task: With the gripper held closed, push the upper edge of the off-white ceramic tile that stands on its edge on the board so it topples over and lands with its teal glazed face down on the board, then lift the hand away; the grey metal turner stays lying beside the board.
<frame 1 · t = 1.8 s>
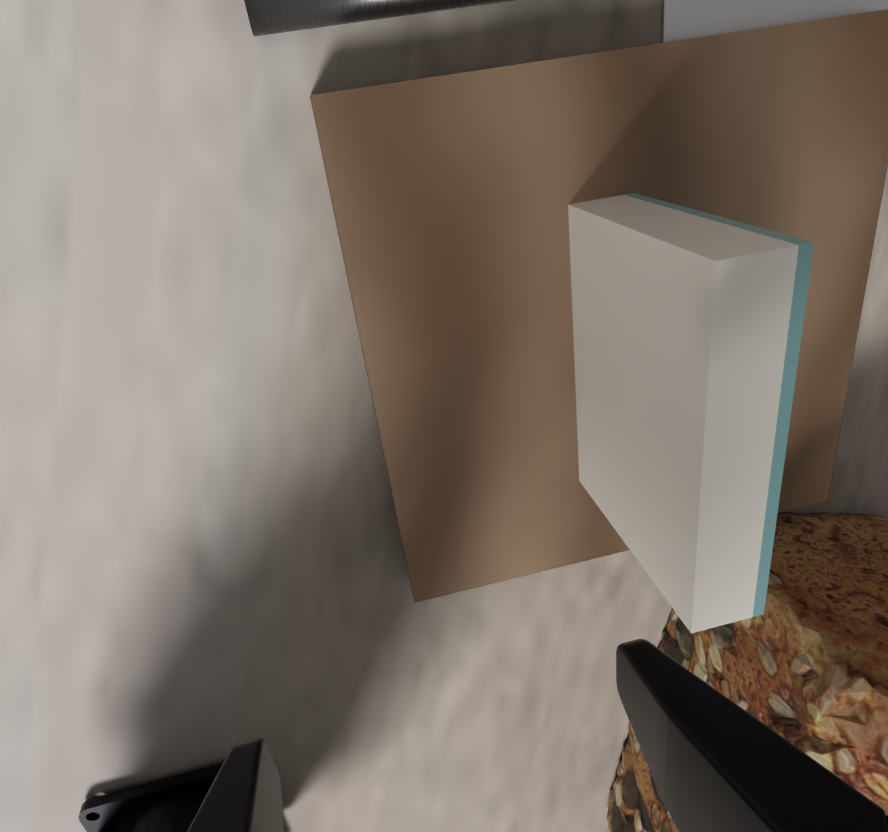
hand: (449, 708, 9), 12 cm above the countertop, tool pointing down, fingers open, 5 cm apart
tile: (599, 352, 19), point 1 cm above the countertop, touching board
board: (613, 333, 21), on the countertop
bread: (730, 667, 30), on the countertop
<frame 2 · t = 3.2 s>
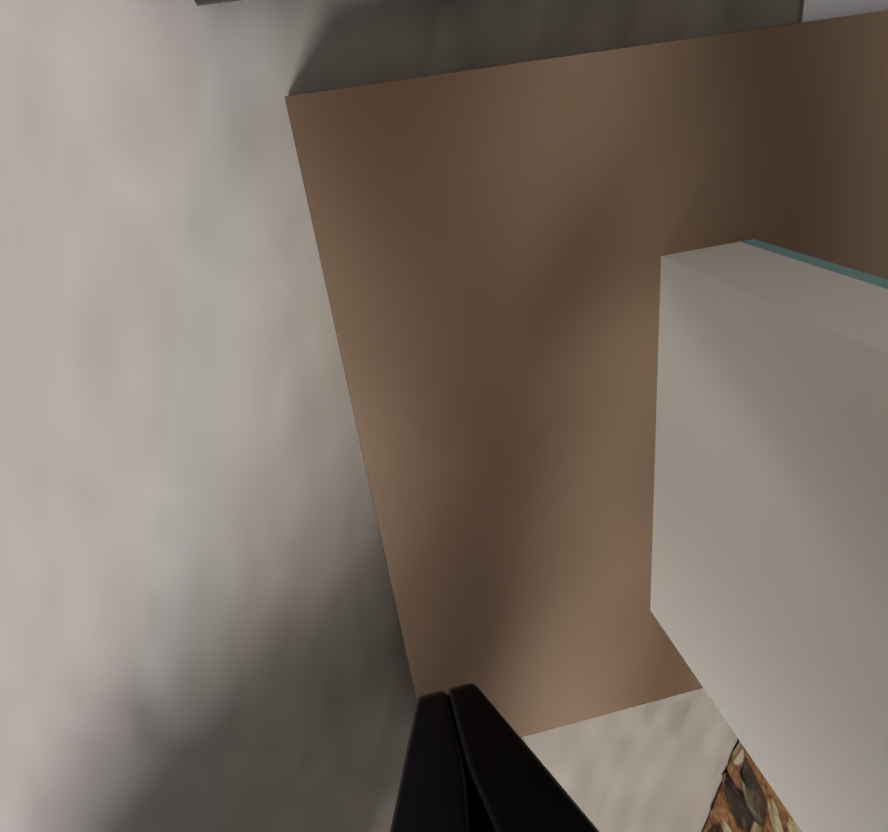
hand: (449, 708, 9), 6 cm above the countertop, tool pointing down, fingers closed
tile: (688, 451, 14), point 1 cm above the countertop, touching board
board: (700, 418, 15), on the countertop
bread: (807, 793, 25), on the countertop
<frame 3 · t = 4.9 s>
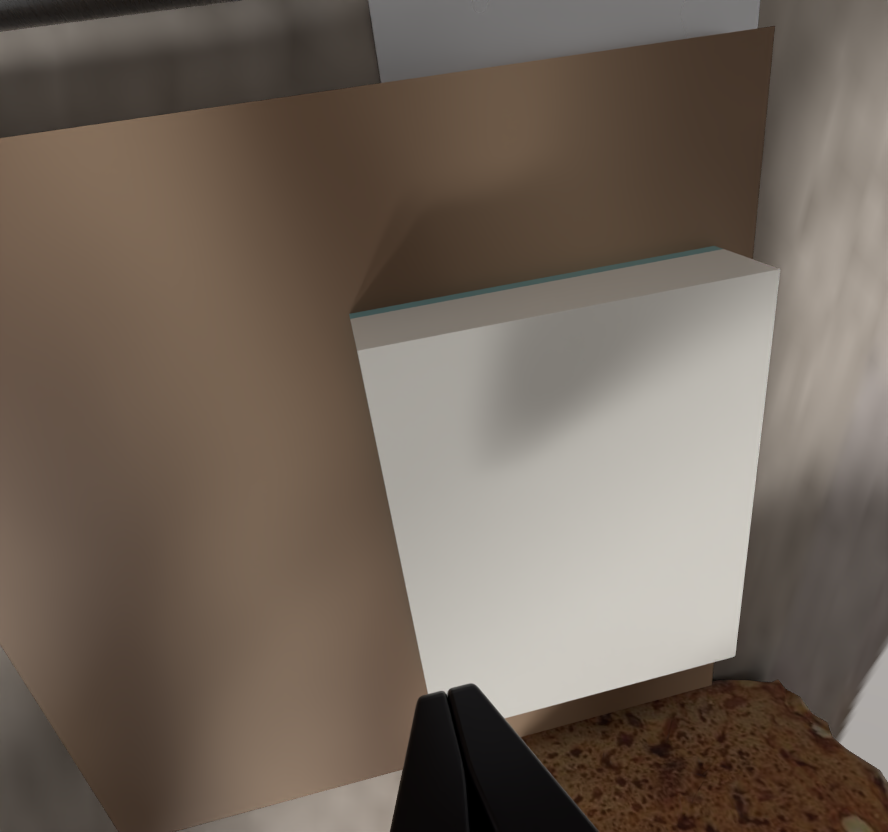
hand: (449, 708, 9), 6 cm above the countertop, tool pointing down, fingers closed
tile: (398, 550, 12), point 2 cm above the countertop, tilted 90°, touching board
board: (377, 489, 14), on the countertop
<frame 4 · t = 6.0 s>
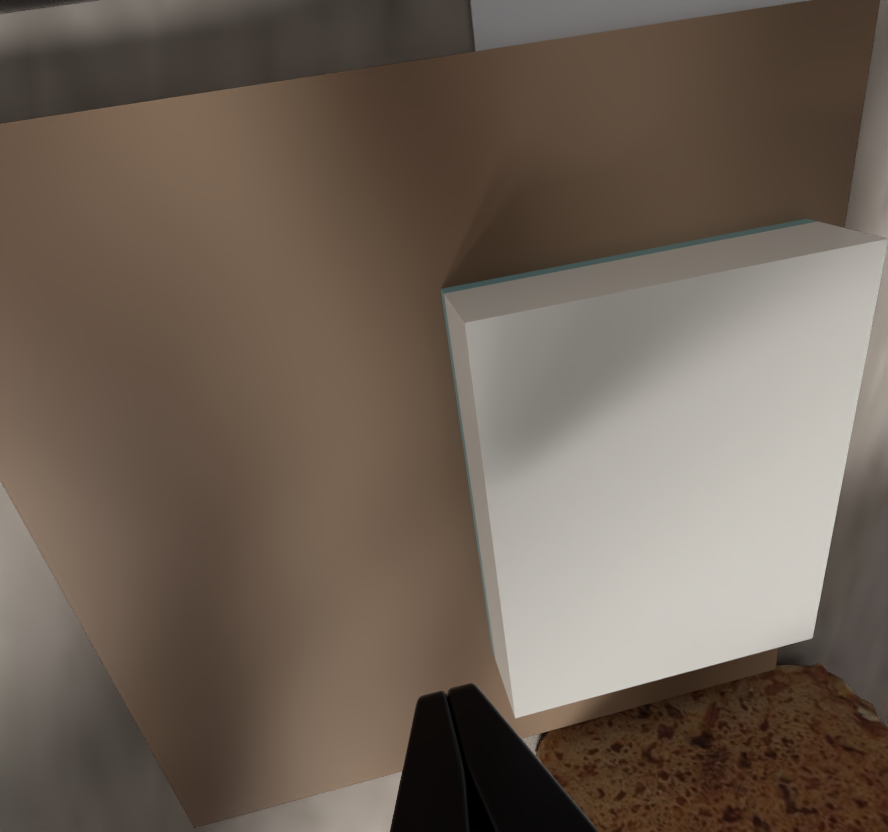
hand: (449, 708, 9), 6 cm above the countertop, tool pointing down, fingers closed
tile: (483, 530, 12), point 2 cm above the countertop, tilted 90°, touching board
board: (451, 470, 14), on the countertop
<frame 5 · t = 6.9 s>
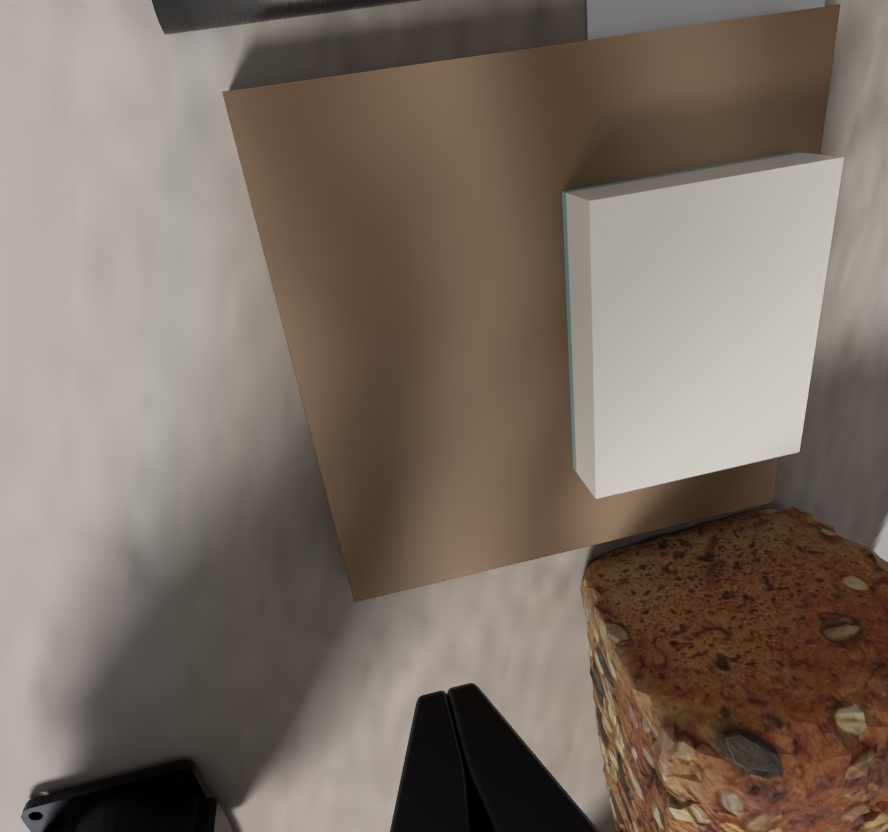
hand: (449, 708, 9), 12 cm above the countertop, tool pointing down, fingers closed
tile: (582, 357, 19), point 2 cm above the countertop, tilted 90°, touching board
board: (549, 333, 21), on the countertop
bread: (686, 671, 30), on the countertop
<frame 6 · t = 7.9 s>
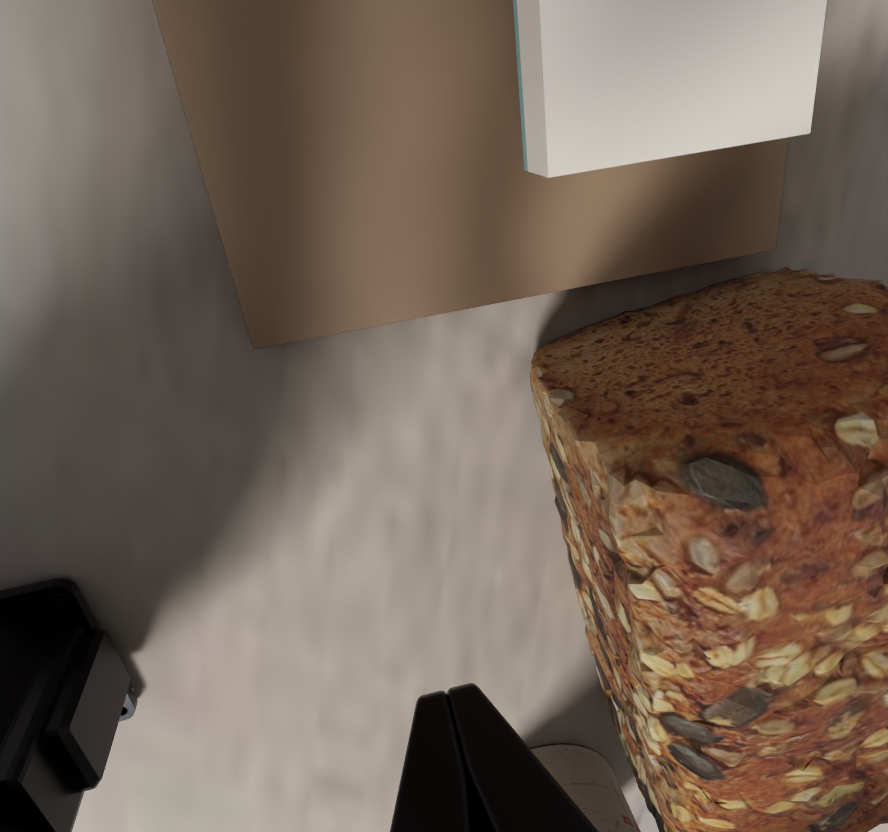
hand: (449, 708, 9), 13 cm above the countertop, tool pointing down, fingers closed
thermos bottle: (535, 794, 32), on the countertop
bread: (673, 506, 26), on the countertop
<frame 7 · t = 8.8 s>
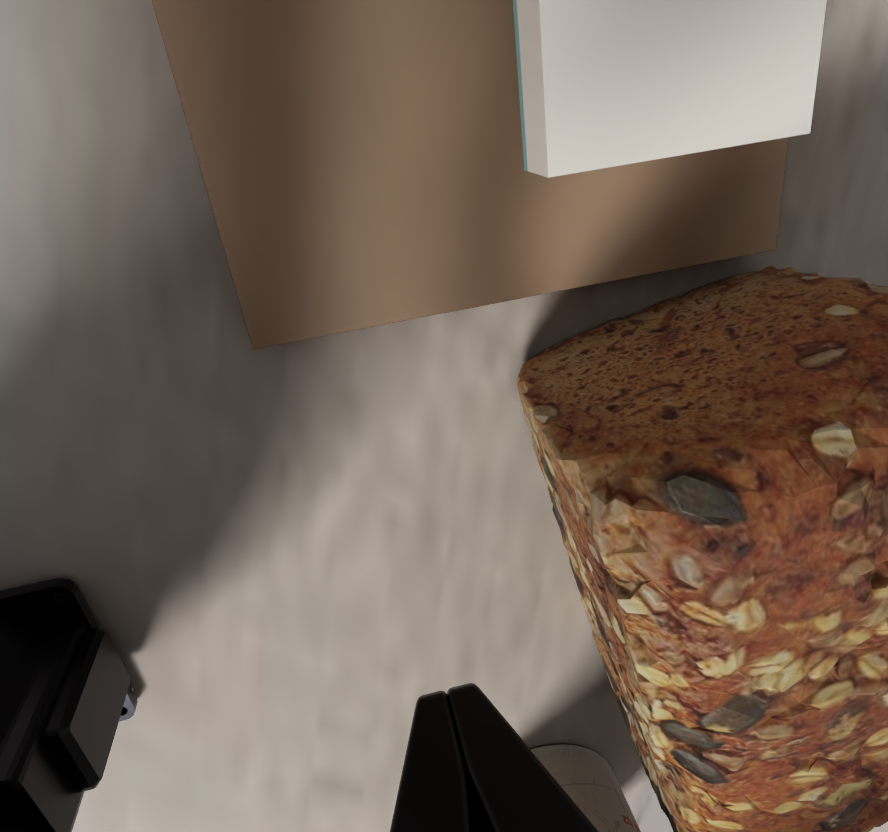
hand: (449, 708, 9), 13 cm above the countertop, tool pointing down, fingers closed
thermos bottle: (535, 794, 32), on the countertop
bread: (674, 507, 26), on the countertop
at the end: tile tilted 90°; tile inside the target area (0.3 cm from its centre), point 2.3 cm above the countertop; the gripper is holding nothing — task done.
